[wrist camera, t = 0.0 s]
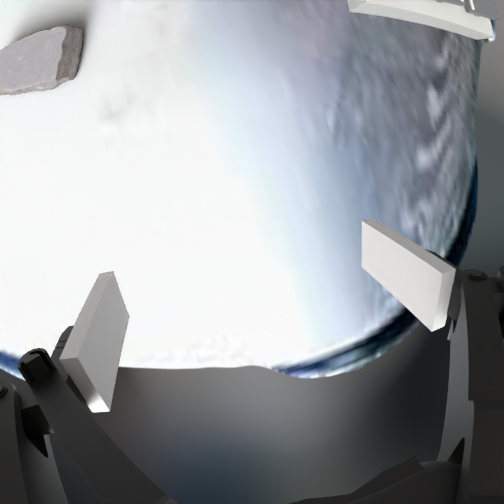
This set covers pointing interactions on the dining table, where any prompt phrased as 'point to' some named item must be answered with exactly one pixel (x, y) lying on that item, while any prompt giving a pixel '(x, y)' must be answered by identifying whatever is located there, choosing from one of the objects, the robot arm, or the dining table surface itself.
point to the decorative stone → (40, 60)
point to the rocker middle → (454, 2)
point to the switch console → (428, 15)
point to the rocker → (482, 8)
